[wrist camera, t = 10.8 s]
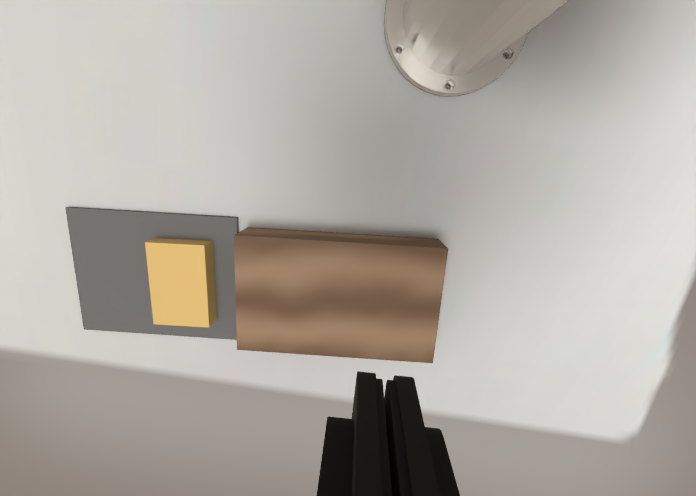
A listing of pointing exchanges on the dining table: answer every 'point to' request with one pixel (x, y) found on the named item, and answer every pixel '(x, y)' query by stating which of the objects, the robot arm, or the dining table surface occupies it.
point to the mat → (144, 267)
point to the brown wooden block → (338, 294)
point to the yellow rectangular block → (181, 282)
